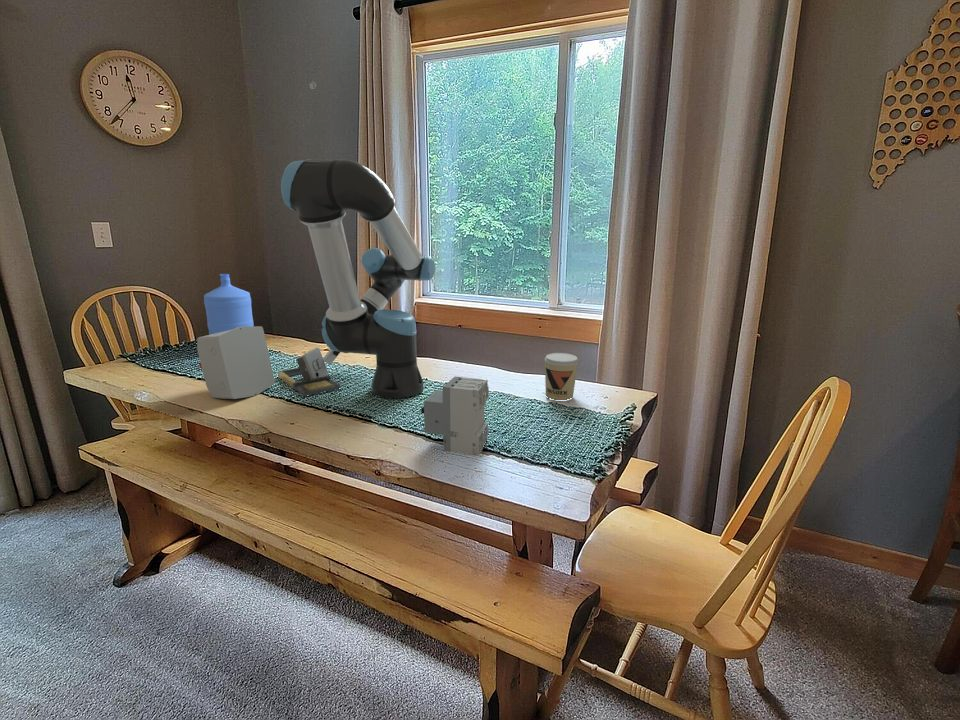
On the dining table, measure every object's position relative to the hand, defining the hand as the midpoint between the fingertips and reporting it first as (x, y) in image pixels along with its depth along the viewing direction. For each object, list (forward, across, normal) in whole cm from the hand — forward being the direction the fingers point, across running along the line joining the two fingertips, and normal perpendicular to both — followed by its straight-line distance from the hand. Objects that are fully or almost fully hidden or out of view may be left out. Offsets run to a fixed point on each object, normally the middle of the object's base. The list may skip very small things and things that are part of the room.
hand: (326, 362), depth 161 cm
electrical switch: (+7, -2, +1) cm, 7 cm away
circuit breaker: (+1, -66, -5) cm, 66 cm away
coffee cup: (-29, -59, -35) cm, 75 cm away
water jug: (+14, +51, +8) cm, 54 cm away
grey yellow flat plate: (+8, -5, +3) cm, 10 cm away
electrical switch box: (+22, +1, +16) cm, 28 cm away
